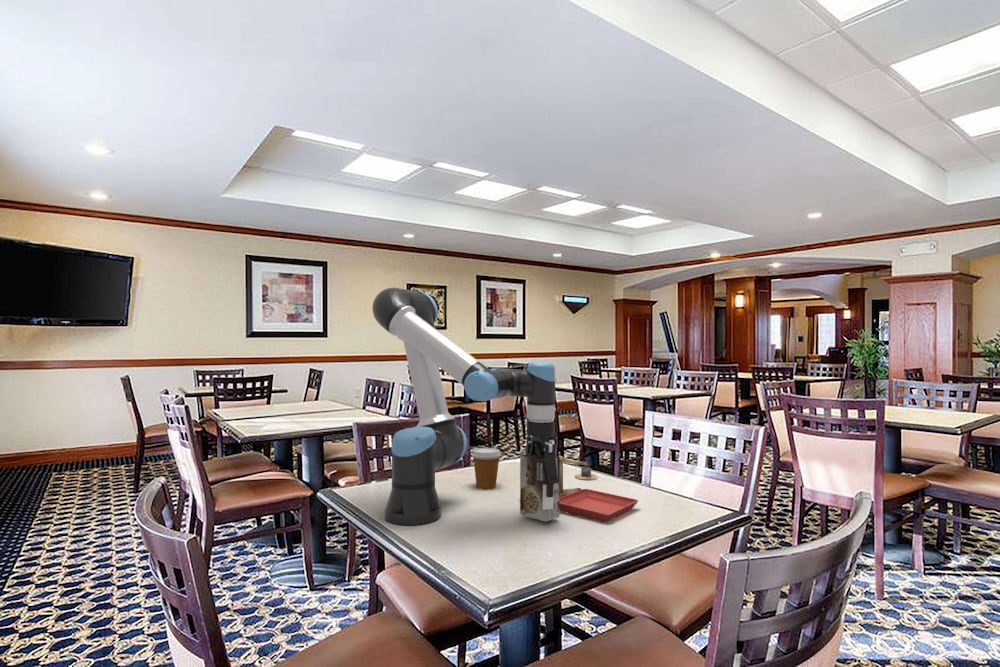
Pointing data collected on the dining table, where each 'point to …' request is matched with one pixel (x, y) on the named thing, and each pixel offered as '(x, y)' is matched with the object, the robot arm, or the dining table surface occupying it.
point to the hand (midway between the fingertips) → (539, 502)
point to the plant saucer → (595, 504)
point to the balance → (584, 476)
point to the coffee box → (536, 488)
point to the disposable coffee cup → (486, 466)
